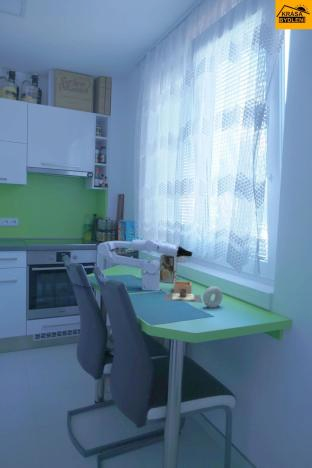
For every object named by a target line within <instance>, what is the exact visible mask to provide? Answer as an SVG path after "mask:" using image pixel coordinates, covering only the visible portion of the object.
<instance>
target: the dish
mask: <svg viewBox="0 0 312 468" xmlns="http://www.w3.org/2000/svg"><path fill="white" fill-rule="evenodd" d="M180 287H183V288H186V294H192V281H179V280H178V281H177V280H176V281H174V283H173V293H180Z"/></svg>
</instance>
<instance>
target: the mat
mask: <svg viewBox="0 0 312 468" xmlns="http://www.w3.org/2000/svg"><path fill="white" fill-rule="evenodd" d="M194 298H195V301H181V302H183V303H186V302H187V303H203V299H202V296H201V295H200V294H199V295H197V294H194ZM171 299H172V293H164V299H163V300H164V301H167V302H177V301H176V300H171Z"/></svg>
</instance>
